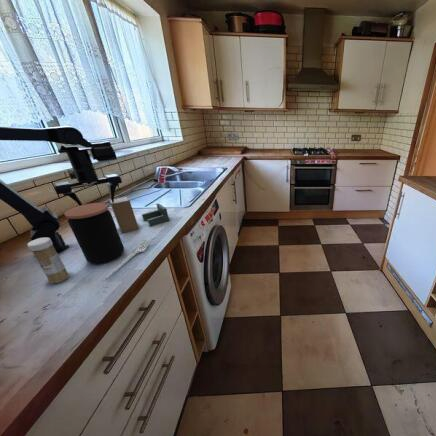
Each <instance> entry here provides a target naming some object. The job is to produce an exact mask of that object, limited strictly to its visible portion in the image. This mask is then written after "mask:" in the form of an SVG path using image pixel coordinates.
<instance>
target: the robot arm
mask: <svg viewBox="0 0 436 436" xmlns="http://www.w3.org/2000/svg"><path fill="white" fill-rule="evenodd" d="M83 135H84V134H83V133H82V132H81V131H80V130H79V129H77V128H75V127H73V126H71V125H70V126H69V125H61V126H52V127H50V126H49V127H40V128H39V127H38V128H37V127H17V126H16V127H13V126H0V141H18V142H19V141H21V142H24V141H25V142H26V141H27V142H29V141H30V142H49V143H55V144H60V147H58V149H57V152H58V153H59V154H66V156H67V159H68V160H69V163H70V166H71V168H72V169H69V170H67V174H68V176H69V179H70V180H76V181H77V182H72V183H69V181H67V180H66V181H61V182H55V183H54V184H53V187H54V190H55V192H56V194H57V195H63V196H64V197H67V196H68V197H69V198H71V199H72V200H73V201H74V202H76V204H77V205H78V206H81V205H83V203H82V201H81V200H80V198H79V197H78V196H77V194H76V192H75V191H74V190H75V189H79V188H86V187H90V186H98V185H103V184H106V186H107V189H108V192H109V198H110V200H112V202H114V199H115V193H116V189H117V187H119V186H120V184H122V183H123V180H122V177H121V175H118V174H117V173H112V174H105V176H104V177H101V178H99V177H98V174H97V172H96V169H95V167H94V164H93V161H95V160H96V161H97V162H98V163H102V162H103V163H104V162H112V161H117V159H118V158H117V157H118V156H117V154H116V151H115V150H114V147H113V146H112V144H111V142H110V141H103V142H91V141H90V140H88V139H86V138H84V136H83ZM66 145H68V146H66ZM78 146H82V147H83V148H79V147H78ZM91 158H92V159H91ZM92 160H93V161H92ZM0 200H1V201H2V202H3V203H5V204H7V205H8V206H9V207H11V208H12V209H13V210H15V211H17V212H18V213H19V214H21V215H22V216H23V217H24V218H25V219H26V221H27V222H28V223H29V225H30V226H32V227H30V234H29V235H30V240H31V241H33V240H35V239H39V238H45V237H47V238H50V239H51V241H52V243H53V244H52V245H53V246H54V248H55V250H56V252H57V253H58V254H59V253H60V252H63V251H64V250H66V249H67V248H68V247H70V245H69V244H66V243H65V240H64V238H63V237H62V235H61V234H60V233H59V232H58V230H59V229H60V222H59V221H60V220H59V217H58V213H57V212H54V211H52V210H51V209H50V208H49V207H48V206H47V205H45V206H44V207H40V206H37V205H36V204H34V203H33V202H31V201H30V200H28V199H27V198H26V197H24V196H23V195H22V194H21V193H19V192H18V191H17V190H15V189H14V188H13V187H12V186H10V185H9V184H8V183H6V182H4V180H2V179H0ZM31 241H30V242H31Z"/></svg>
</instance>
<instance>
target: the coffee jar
mask: <svg viewBox="0 0 436 436" xmlns="http://www.w3.org/2000/svg"><path fill="white" fill-rule="evenodd" d="M63 214H64V217H65V218H67V224H68V225H69V227H70V229H71V231H72V233H73V235H74V237H75V239H76V241H77V244H78V245H79V248H80V251H81V253H82V254H83V256H84V258H85V260H86V262H87V263H90V264H92V265H104V264H107V263H108V264H109V263H110V262H113V261H115V260H117V259H119V258H120V257H121V256H122V255H123V254H124V252H125V247H124V244H123V241H122V238H121V235H120V233H119V230H118V227H117V225H116V222H115V220H114V218H113V215H112V212H111V210H109V205H108V204H107V203H104V202H92V203H86V204H82V205H81V206H80V205H78V206H74V207H72V208H70V209H68V210H66V211H65V212H64V213H63Z"/></svg>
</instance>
